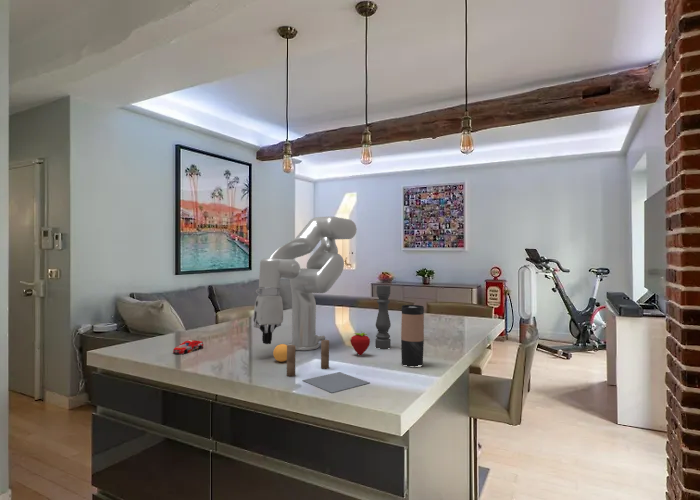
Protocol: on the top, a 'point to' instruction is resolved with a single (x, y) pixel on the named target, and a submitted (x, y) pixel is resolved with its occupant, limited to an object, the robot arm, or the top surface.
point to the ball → (280, 353)
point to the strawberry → (360, 342)
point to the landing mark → (335, 382)
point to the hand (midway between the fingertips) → (266, 343)
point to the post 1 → (291, 360)
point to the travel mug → (412, 335)
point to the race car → (188, 347)
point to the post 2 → (324, 354)
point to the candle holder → (383, 318)
